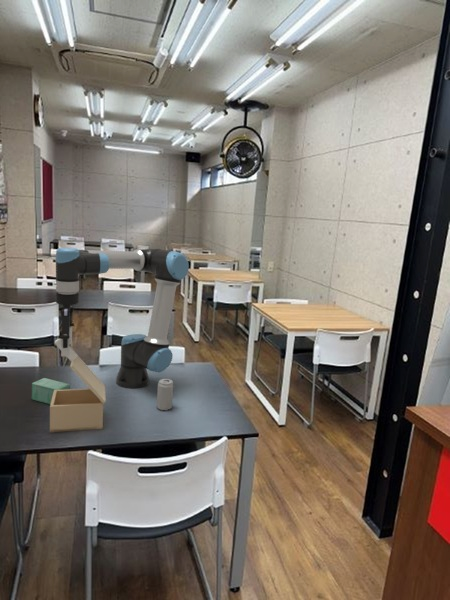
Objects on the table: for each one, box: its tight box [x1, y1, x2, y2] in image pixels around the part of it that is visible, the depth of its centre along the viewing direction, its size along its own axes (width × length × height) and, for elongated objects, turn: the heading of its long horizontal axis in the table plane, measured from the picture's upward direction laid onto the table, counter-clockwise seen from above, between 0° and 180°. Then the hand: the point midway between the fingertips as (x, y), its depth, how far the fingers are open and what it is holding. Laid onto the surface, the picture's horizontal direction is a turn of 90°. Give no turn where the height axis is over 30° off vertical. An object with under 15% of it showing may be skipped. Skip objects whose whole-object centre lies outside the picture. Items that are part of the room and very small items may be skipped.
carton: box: [49, 388, 104, 434], centre depth 151 cm, size 18×14×10 cm
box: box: [31, 377, 71, 405], centre depth 166 cm, size 7×14×8 cm, turn 73°
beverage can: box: [156, 378, 174, 411], centre depth 168 cm, size 6×6×12 cm
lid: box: [54, 337, 107, 404], centre depth 148 cm, size 27×14×2 cm
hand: (66, 349), depth 146 cm, fingers open, 13 cm apart
